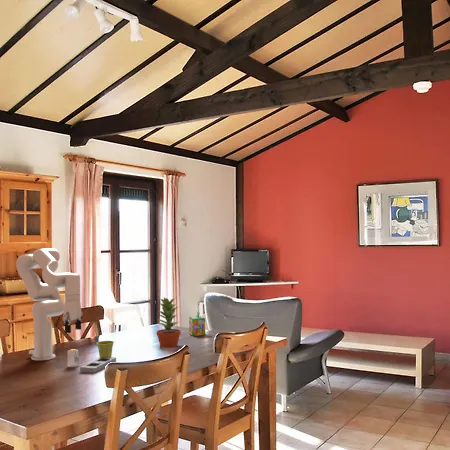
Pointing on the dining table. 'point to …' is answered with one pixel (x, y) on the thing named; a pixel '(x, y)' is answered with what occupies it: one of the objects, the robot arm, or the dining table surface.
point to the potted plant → (168, 325)
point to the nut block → (73, 358)
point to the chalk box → (197, 325)
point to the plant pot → (105, 348)
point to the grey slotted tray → (97, 365)
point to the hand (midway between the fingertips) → (73, 331)
